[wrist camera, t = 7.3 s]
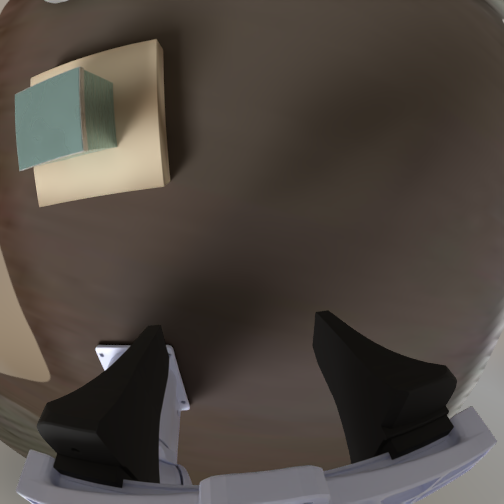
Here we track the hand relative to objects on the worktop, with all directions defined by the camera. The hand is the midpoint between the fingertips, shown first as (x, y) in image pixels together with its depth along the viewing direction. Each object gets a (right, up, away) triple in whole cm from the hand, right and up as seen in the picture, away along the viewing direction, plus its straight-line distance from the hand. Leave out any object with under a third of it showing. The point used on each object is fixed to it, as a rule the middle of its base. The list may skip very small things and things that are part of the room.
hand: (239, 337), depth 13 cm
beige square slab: (-10, +13, +5) cm, 18 cm away
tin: (-10, +12, +2) cm, 16 cm away
